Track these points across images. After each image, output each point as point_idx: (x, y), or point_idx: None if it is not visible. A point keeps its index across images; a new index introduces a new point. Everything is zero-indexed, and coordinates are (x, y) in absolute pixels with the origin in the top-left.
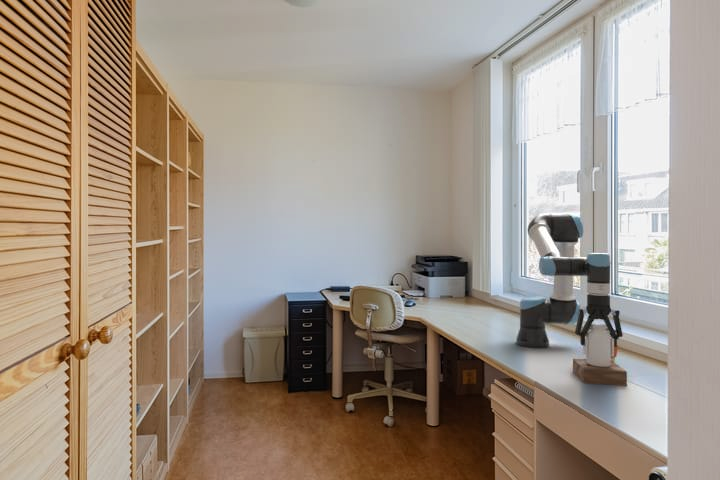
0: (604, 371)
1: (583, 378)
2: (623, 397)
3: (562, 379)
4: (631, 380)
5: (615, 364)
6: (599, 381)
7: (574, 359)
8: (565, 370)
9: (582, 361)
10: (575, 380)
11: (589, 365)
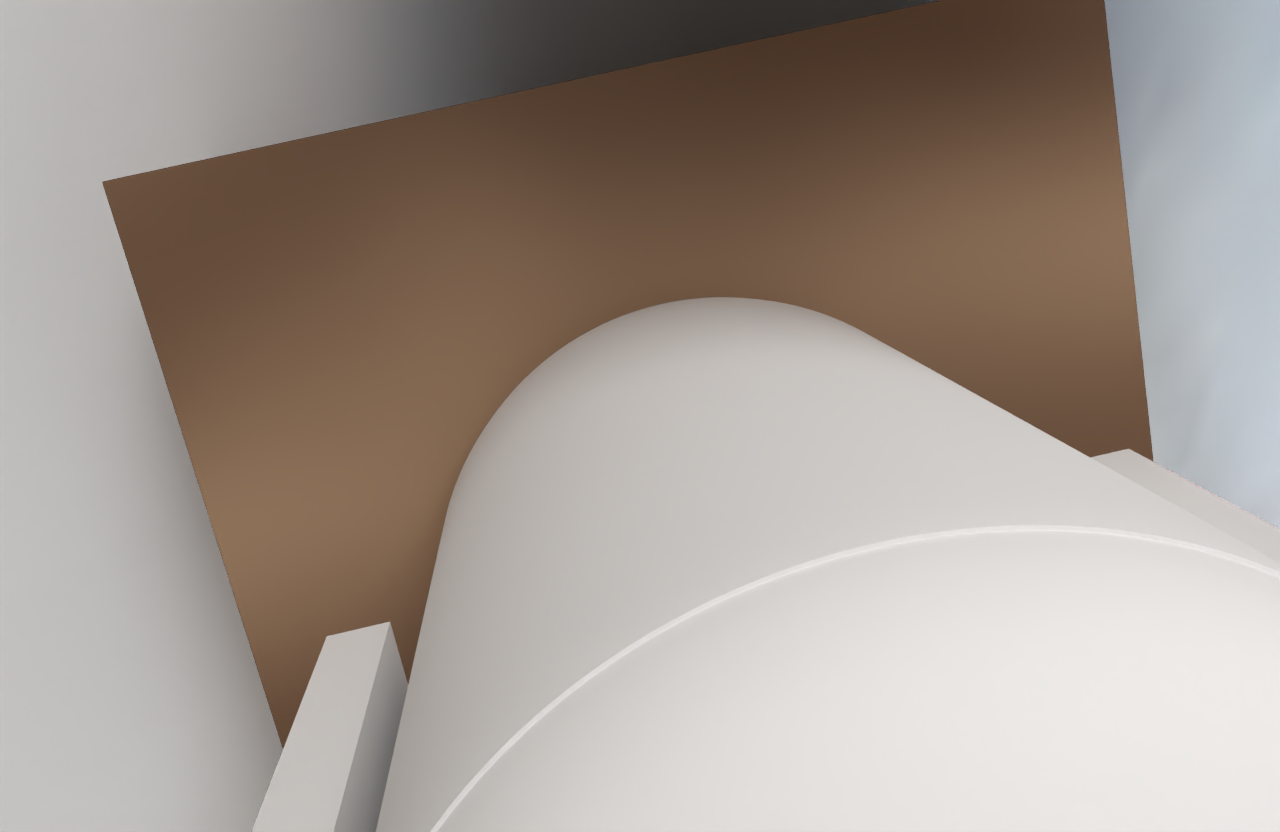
0: None
1: None
2: None
3: (37, 810)
4: (1218, 347)
5: (1100, 342)
6: None
7: (148, 259)
8: (43, 155)
9: (352, 392)
10: (262, 770)
11: None
